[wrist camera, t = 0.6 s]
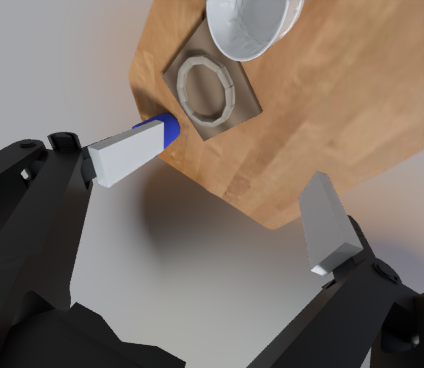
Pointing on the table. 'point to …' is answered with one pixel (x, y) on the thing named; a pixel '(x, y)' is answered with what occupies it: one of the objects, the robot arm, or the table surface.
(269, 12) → the white cup
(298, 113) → the table surface
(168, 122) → the mug
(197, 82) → the brown flat ringed piece
